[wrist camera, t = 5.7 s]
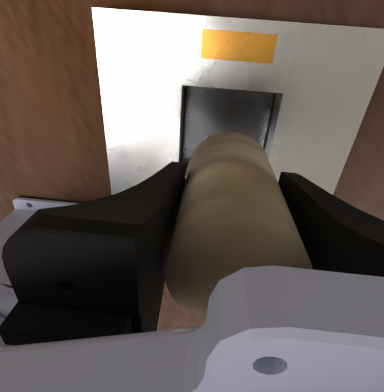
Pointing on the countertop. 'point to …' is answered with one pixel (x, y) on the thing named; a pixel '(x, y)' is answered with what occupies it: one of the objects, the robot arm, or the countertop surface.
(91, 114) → the countertop surface
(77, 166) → the countertop surface
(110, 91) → the light grey flat block
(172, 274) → the barrel peg
